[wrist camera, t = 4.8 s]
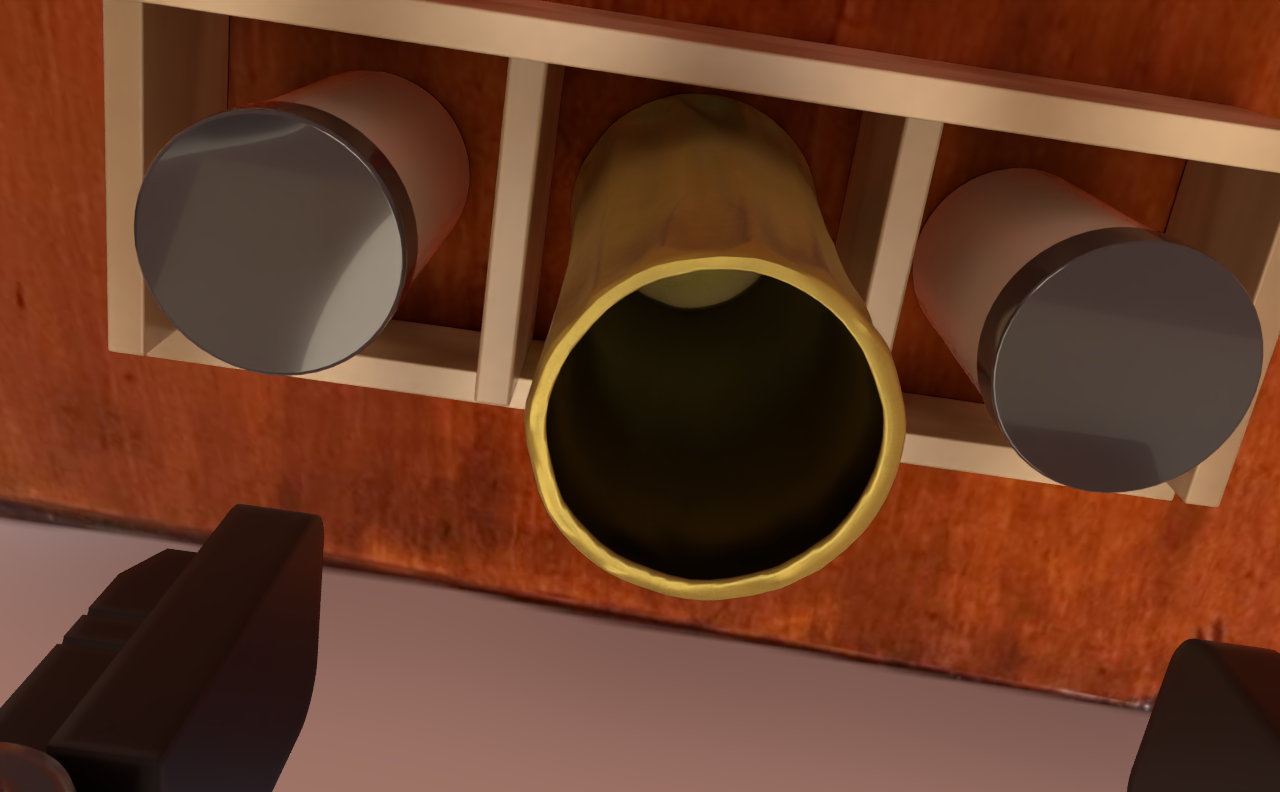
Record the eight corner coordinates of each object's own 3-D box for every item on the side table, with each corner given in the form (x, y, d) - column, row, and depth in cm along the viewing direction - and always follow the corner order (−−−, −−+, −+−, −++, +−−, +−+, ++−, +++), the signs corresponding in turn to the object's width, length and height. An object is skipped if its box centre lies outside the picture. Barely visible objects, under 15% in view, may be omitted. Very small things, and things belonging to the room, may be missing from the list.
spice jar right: (889, 343, 31) (963, 474, 23) (933, 149, 29) (1030, 221, 21) (1078, 370, 31) (1216, 510, 23) (1134, 179, 29) (1303, 261, 21)
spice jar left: (268, 253, 30) (132, 357, 22) (275, 50, 28) (130, 88, 21) (464, 281, 30) (396, 394, 23) (483, 81, 28) (416, 130, 21)
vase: (535, 281, 30) (431, 544, 17) (625, 50, 28) (588, 140, 15) (754, 369, 31) (822, 687, 18) (858, 150, 29) (1023, 320, 16)
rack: (192, 319, 31) (87, 402, 25) (196, -53, 28) (76, -53, 22) (1128, 452, 32) (1227, 561, 26) (1237, 106, 28) (1378, 144, 23)
